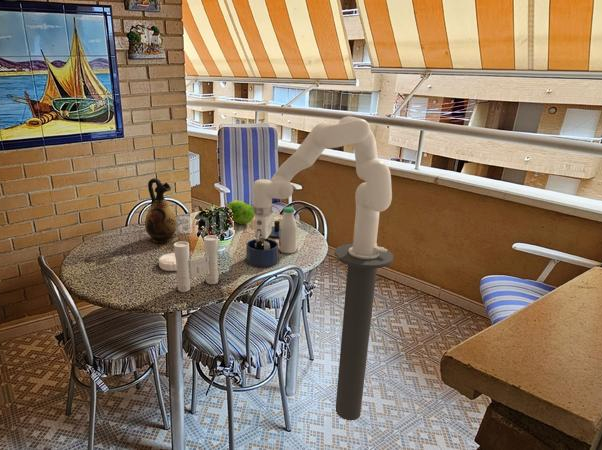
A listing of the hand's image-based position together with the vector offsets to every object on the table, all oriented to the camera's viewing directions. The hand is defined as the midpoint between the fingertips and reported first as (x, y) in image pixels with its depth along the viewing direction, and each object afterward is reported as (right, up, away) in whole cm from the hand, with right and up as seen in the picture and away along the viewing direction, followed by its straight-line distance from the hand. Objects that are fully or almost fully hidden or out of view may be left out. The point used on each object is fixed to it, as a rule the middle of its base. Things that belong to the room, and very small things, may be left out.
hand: (262, 250), depth 172 cm
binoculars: (-26, -12, -18) cm, 34 cm away
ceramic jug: (-47, +4, +28) cm, 55 cm away
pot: (0, -5, +2) cm, 5 cm away
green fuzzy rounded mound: (-8, +12, +49) cm, 51 cm away
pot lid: (+10, +7, +32) cm, 34 cm away
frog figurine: (0, -2, +1) cm, 2 cm away
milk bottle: (+12, -1, +11) cm, 17 cm away
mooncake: (-37, -6, -1) cm, 38 cm away
